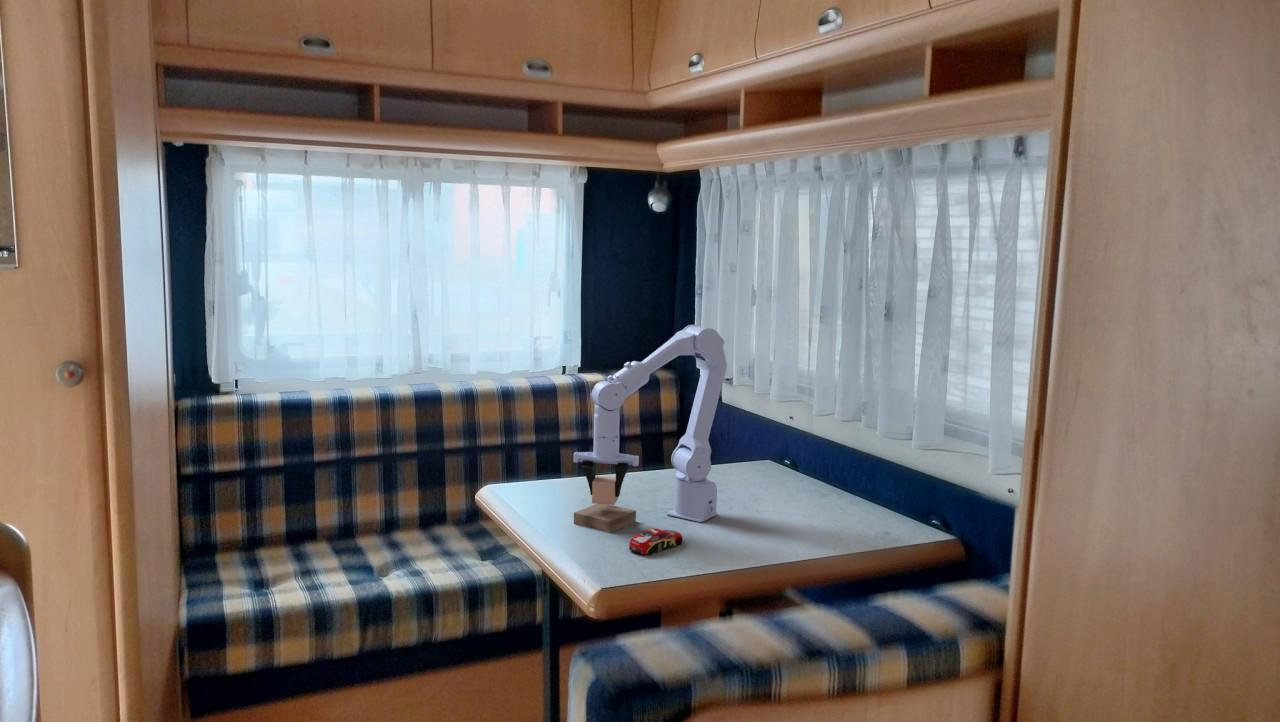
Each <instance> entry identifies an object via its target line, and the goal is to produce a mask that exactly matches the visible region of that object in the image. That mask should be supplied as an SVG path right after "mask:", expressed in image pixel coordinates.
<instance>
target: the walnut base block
mask: <svg viewBox="0 0 1280 722" xmlns="http://www.w3.org/2000/svg"><path fill="white" fill-rule="evenodd" d="M636 522H637V510H635V509H629V508H626V507H621V506H617V505H608V504H594V505H591V506H588V507H586V508H582V509H580V510H578V511H574V512H573V525H577V526H582V527H585V528H589V529H594V530H598V531H602V532H606V533H612V532H615V531H616V530H620V529H622V528H624V527H626V526H628V525H629V526H630V525H631V524H633V523H636Z"/></svg>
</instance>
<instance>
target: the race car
mask: <svg viewBox="0 0 1280 722" xmlns="http://www.w3.org/2000/svg"><path fill="white" fill-rule="evenodd" d="M682 543H683V535H682V534H681V532H679V531H676V530H671V529H660V528H648V529H645V530H643V531H641V532H639V533H637V534H636V535H635V536H633V537H631V538H630V541H629V544H628V546H629V547H628V549H629V550H630V551H632V552H635V553H638V554H642V555H654V554H656V553H657V552H660V551H664V550H667V549H670V548H674V547H678V546H682ZM653 553H654V554H653Z"/></svg>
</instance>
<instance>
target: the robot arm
mask: <svg viewBox="0 0 1280 722" xmlns="http://www.w3.org/2000/svg"><path fill="white" fill-rule="evenodd" d="M724 346H725V340H724V339H723V337H722V336H721V335H720V333H719V332H718V331H717V330H715V329H714V328H709V327H703V326H701V325H700V326H699V325H697V324H688V325H687V326H685V327H684V328H683V329H681V330H679V331H677V332H676V333H675V334H674V335H673V336H671V338H669V339H668V340H667V341H666V342H664V343H663V344H662V345H661V346H660V347H658V348H657V349H656V350H655V351H653V352H652V353H651V354H649V356H647V357H646V358H644V359H643V360H642V361H637V360H633V361H631V362H630V361H627V362H625V363H624V364H623V368H622V369H619V370H618V371H617V372H616V373H614V374H613V375H612V374H609V375H608V376H607V377H606V378H607V380H601V381H599V382H597V383H596V384H594V385H593V388H592V390H591V392H590V398H591V401H592V402H593V403H594V405H593V407H594V410H593V411H594V414H593V451H581V452H580V451H575V452H574V453H573V456H572V457H573V458H572V459H573V463H582V465H581V469H582V471H583V474H584V475H585V479H586V480H587V483H588V487H589V492H590V496H592V481H593V480H594V479H595V478H596V477H597V475H596V473H597V464H606V465H607V464H609V465H616V466H615V469H614V470H615V477H616V489H615V497H618V498H619V497H620V496H621V489H622V486H623V483H624V479H625V477H626V474H627V472H628V470H629V468H630V466H633V467H638V466H639V463H640V462H639V460H640V459H639V458H640V457H639V455H633V454H628V453H627V454H626V453H622V452H621V453H620V426H621V425H620V424H621V423H620V422H621V421H620V418H621V417H620V416H621V414H620V413H621V412H620V411H621V410H620V408H621V407H622V406H623V404H624V402H625V399H627V397H629V396H631V395H632V394H634V393H635V392H636V391H637V390H639V389H640V388H641V387H643V386H644V385H646V384H648V382H649V381H650V375H651V374H652V373H653V372H655V371H657V370H658V369H660V368H661V367H663V366H665V365H666V364H668V363H669V362H670V361H673V360H674V359H675V358H677V357H678V356H693V357H694V359H695V360H696V361H697V363H698V365H700V367H701V373H700V376H699V380H698V384H697V388H696V392H695V396H694V399H693V403H692V407H691V412H690V414H689V418H688V419H689V420H688V424H687V428H686V432H685V433H684V435H682V436H681V438H680V439H679V441H678V445H677V446H676V447H675V448H674V450H673V451H672V454H671V456H670V457H671V458H670V460H671V465H672V467H673V468H674V469H675V472H674V473H675V475H674V496H673V498H674V499H673V501H674V502H673V503H674V504H673V505H674V506H673V509H671V510H670V511H668V512H666V515H667V516H671V517H675V518H679V519H684V520H689V521H693V522H698V523H703V522H705V521H707V520H709V519H711V518H712V517H715V516H718V512H717V504H718V503H717V500H718V499H717V498H718V488H717V485H716V484H717V483H716V482H714V481H711V480H709V479H708V478H707V477H708V475H709V474H710V471H711V469H712V462H711V461H712V460H711V454H712V448H711V445H710V442H709V441H710V440H709V439H710V434H711V429H712V426H713V422H714V419H715V414H716V411H717V405H718V402H719V399H720V395H721V390H722V388H723V387H722V386H723V383H724V379H725V377H726V376H725V375H726V371H727V365H728V364H727V359H726V355H725V349H724Z"/></svg>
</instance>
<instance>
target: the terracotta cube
mask: <svg viewBox="0 0 1280 722" xmlns="http://www.w3.org/2000/svg"><path fill="white" fill-rule="evenodd" d="M615 489H616V476H603V475H596V477H595V479H594V480H593V481H592V495H591V504H594V505H596V504H608V505H613V506H615V504H616V503H617V501H618V500H619V497H615Z"/></svg>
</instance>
